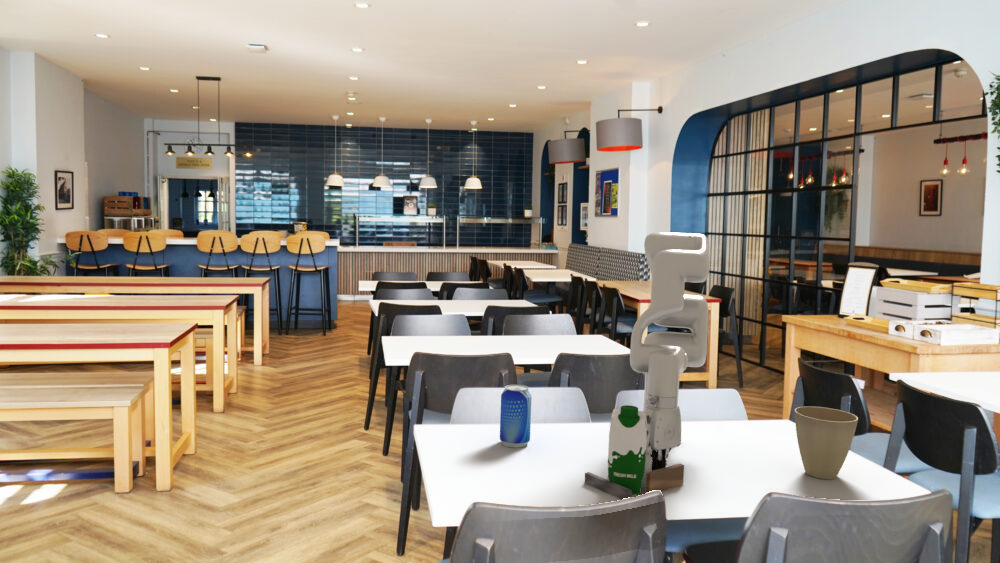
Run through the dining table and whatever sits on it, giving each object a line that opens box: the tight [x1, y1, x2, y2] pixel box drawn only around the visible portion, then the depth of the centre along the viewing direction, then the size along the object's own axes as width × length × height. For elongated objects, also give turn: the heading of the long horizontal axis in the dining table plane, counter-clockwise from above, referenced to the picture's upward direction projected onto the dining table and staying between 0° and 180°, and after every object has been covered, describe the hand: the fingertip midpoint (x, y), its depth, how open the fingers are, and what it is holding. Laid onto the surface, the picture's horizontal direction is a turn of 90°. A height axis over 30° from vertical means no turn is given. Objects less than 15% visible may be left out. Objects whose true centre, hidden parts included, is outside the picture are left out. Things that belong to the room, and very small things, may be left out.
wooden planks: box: [584, 463, 685, 500], centre depth 183 cm, size 14×20×5 cm
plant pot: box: [794, 406, 859, 480], centre depth 195 cm, size 15×15×16 cm
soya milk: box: [607, 404, 647, 495], centre depth 180 cm, size 9×9×20 cm
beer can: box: [499, 384, 532, 448], centre depth 211 cm, size 8×8×16 cm
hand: (658, 473), depth 189 cm, fingers closed
